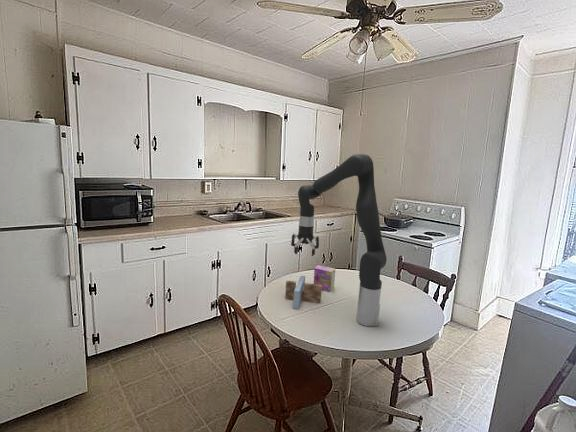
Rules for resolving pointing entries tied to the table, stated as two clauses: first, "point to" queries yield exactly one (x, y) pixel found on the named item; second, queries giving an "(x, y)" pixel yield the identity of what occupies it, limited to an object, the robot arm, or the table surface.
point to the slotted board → (304, 292)
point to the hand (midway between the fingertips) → (304, 254)
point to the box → (324, 277)
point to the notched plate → (298, 292)
